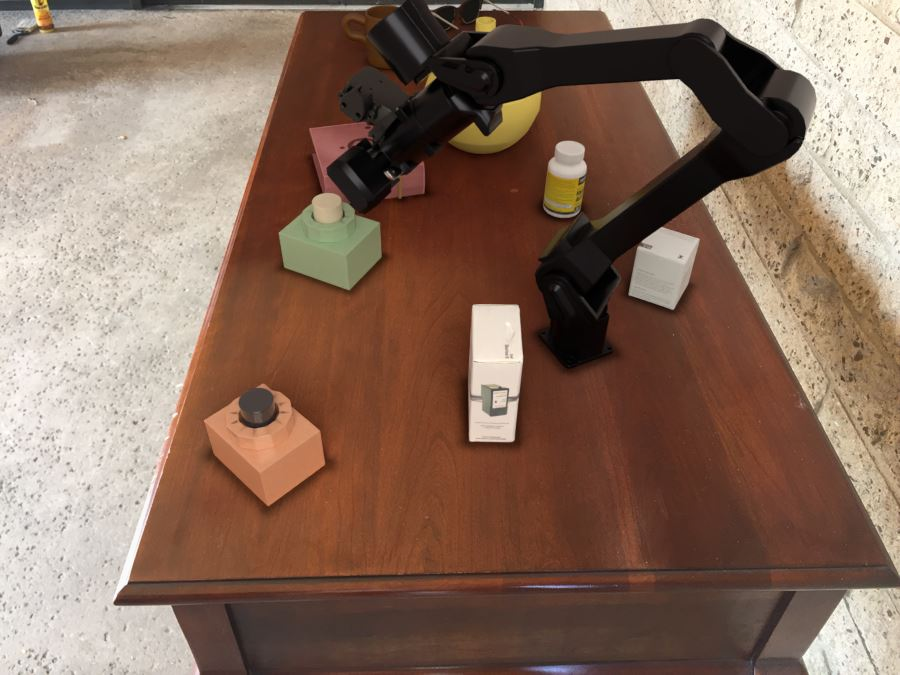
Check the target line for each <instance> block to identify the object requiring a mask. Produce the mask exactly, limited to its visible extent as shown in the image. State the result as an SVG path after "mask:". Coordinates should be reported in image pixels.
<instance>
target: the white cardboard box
mask: <svg viewBox="0 0 900 675" xmlns="http://www.w3.org/2000/svg"><path fill="white" fill-rule="evenodd" d="M699 245H700V238H698V237H696V236H691V235H689V234H685V233H682V232H679V231H676V230H672V229H669V228H666V227H664V226H662V227H661V228H660V229H658V230H657V231H655V232H654V233H653V234H651V235H650V236H648V237H647V238H645V239H644V240H643V241H641V242H640V243H639V244H638V246H637V248H636V252H635V257H634V262H633V267H632V273H631V278H630V283H629V288H628V296H630V297H634V298H637V299H640V300H642V301H646V302H648V303H651V304H655V305H657V306H661V307H664V308H666V309H668V310H671V311H674V310H675V308H676V306H677V305H678V304H679V301H680V300H681V298H682V296H683V294H684V292H685V290H686V289H687V287H688V285H689V283H690V278H691V275H692V271H693V267H694V263H695V259H696V256H697V252H698V249H699Z"/></svg>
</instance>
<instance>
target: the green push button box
mask: <svg viewBox="0 0 900 675" xmlns="http://www.w3.org/2000/svg"><path fill="white" fill-rule="evenodd" d="M342 210H343V218H342V220H340V221H338V222H335V223H332V224H322V223H319V222H316V221H315V219H314V214H313V206H312V203H310V204H309V205H308V206H306V208H304V209H303V210H302V212H301V213H300V214H299V215H298V216H296V217H295V218H294V219H293V220H292V221H290V223H289V224H287V225H286V226H284V228H282V229H281V230H280V231H279V232H278V239H279V243H280V249H281V255H282V262H283V268H285V269H287V270H290V271H292V272H295V273H298V274H302V275H304V276H307V277H310V278H313V279H315V280H319V281H321V282H324V283H327V284H330V285H333V286H336V287H339V288H341V289H344V290H346V291H351V289H352V288H353V287H354V286H355V285H356V284H357V283H358V282H359V281H360V280H361V279H362V278H363V277H364V276H365V275H366V274H367V273H368V272H369V271H370V270H371V269H372V268H373V267H374V266H375V265H376V263H377V262H378V261H379V260H380V259H382V257H383V256H382V252H383V251H382V237H381V236H382V235H381V222H379V221H377V220H373V219H370V218H366V217H364V216H361V215H357V214H356V209H355V208H354V207H353V206H352V205H350V204H348V203H345V202H342Z"/></svg>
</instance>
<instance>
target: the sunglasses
mask: <svg viewBox="0 0 900 675" xmlns="http://www.w3.org/2000/svg"><path fill="white" fill-rule="evenodd" d="M484 2H486V3H487V4H490V5H491V6H493V7H494V8H496V9H498V10H500V11H502V12H503V13H505V14H507V15H509V16H510V17H512V18H513V19H515V20H517V22H518V23H519V24H520V25H522V26H524V23H523V22H522V20H521V19H520V18H519V17H518V16H516V15H514V14H512V13H511V12H509V11H508V10H505V9H504V8H502V7H500V6H498V5H496V4H494V3H493V2H491V1H490V0H465V1H463V2H462V3H461V4H460V5H459V6H457V7H456V6H455V5H448V4H447V5H442V6H440V7H437V8H435V9H433V10H431V13H432V14H433V16H434V17H435V18H436V20H437V21H438V22H439V24H440V25H441V26H442V28H443V29H444V30H445V31H447V30H449V29H450V28H451V27H452V28H454V29H456V30H457V31H458V32H460V33H461V32H462V31H464V30H463V29H461V28H459V27H457V26H456V25H454V22H455V21H456V20H457V19H456V18H457V16H458V14H459V16H460V18H461V20H462V21H463V23H464V24H471V23H473V22H475V21H476V19H477V18H479V14H480V11H482V8H483V3H484Z"/></svg>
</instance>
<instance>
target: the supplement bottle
mask: <svg viewBox="0 0 900 675" xmlns="http://www.w3.org/2000/svg"><path fill="white" fill-rule="evenodd" d="M585 151H586V148H585V145H583V144H582V143H580V142H578V141H575V140H563V141H560V142H557V144H556V145H555V148H554V156H553V157H551V158H550V160H549V161H548V164H547V170H546V178H545V186H544V195H543V202H542V207H543V210H544V211H545V212H546V213H547V214H548V215H550V216H552V217H555V218H560V219H569V218H573V217H576V216H578V215H579V214H580V211H581V208H582V202H583V196H584V192H585V191H584V189H585V183H586V179H587V171H588V165H587V163H586V162H585V160H584V158H585Z"/></svg>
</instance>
